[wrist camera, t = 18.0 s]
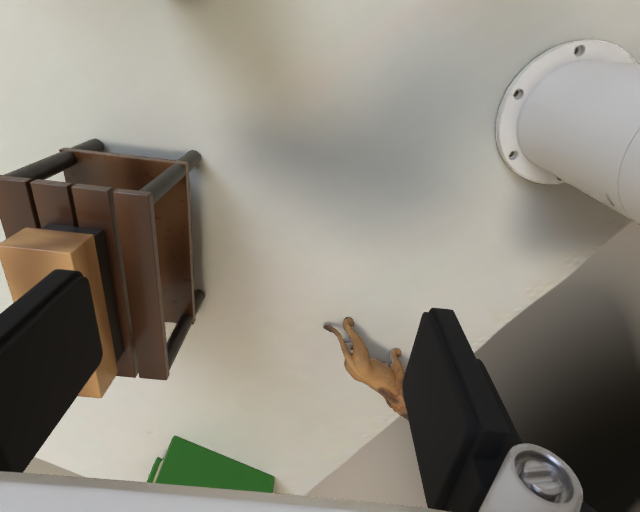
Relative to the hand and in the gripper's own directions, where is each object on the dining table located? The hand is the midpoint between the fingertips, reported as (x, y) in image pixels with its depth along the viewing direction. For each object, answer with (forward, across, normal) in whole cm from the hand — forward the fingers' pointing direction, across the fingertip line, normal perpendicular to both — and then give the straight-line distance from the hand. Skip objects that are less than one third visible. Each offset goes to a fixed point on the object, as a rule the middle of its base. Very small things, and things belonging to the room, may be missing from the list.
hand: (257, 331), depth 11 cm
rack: (+30, +16, +12) cm, 36 cm away
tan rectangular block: (+17, +16, +12) cm, 27 cm away
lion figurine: (+31, -12, +26) cm, 42 cm away
